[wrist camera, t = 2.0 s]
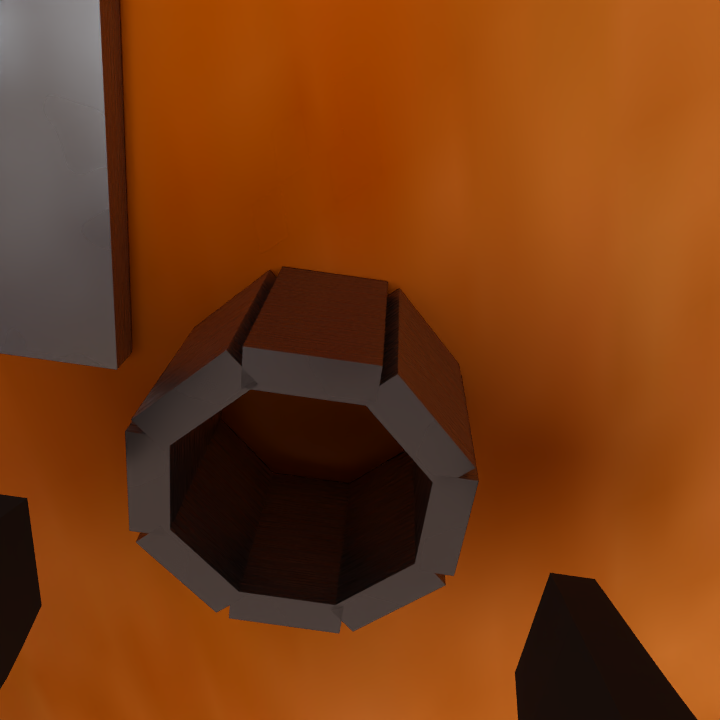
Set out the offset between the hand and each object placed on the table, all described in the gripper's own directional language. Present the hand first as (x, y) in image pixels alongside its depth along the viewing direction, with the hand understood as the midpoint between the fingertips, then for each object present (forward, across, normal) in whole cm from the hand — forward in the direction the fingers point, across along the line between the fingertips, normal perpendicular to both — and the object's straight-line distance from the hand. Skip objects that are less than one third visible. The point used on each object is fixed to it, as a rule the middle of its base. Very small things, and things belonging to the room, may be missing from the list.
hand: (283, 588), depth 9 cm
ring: (+5, 0, 0) cm, 5 cm away
